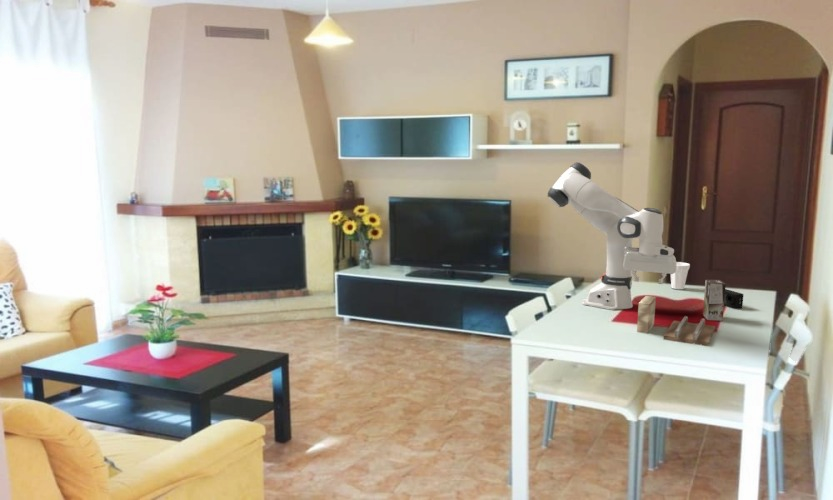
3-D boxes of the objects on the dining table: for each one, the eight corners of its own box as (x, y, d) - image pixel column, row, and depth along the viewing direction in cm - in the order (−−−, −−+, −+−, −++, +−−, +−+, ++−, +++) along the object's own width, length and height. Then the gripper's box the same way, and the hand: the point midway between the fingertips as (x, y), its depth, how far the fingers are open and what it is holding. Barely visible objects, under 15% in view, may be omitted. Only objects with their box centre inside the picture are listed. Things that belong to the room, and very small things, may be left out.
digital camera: (715, 304, 311) (716, 289, 310) (724, 303, 313) (725, 288, 312) (733, 309, 302) (734, 294, 301) (742, 308, 304) (743, 293, 302)
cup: (691, 291, 337) (693, 265, 335) (671, 290, 337) (673, 265, 335) (683, 286, 347) (685, 262, 345) (664, 286, 347) (666, 261, 345)
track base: (663, 339, 257) (664, 329, 257) (673, 324, 278) (674, 314, 277) (708, 345, 250) (708, 335, 249) (715, 329, 270) (716, 320, 269)
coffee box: (723, 321, 283) (726, 284, 280) (707, 320, 284) (710, 283, 281) (718, 315, 292) (721, 279, 289) (702, 314, 293) (705, 278, 290)
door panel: (636, 331, 267) (638, 302, 265) (643, 323, 279) (645, 295, 277) (647, 333, 265) (649, 304, 263) (653, 324, 277) (655, 296, 275)
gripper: (622, 247, 269) (620, 281, 271) (675, 252, 259) (673, 286, 261) (625, 245, 274) (624, 278, 277) (678, 249, 264) (676, 283, 266)
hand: (648, 282), depth 269 cm, fingers open, 8 cm apart
